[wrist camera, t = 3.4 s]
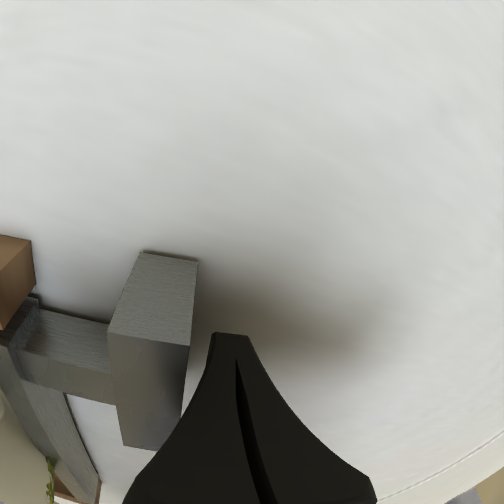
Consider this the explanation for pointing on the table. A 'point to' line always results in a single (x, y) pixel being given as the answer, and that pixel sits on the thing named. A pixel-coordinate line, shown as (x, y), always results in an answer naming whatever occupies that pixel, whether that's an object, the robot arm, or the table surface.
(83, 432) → the table surface
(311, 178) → the table surface
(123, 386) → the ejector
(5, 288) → the walnut holder
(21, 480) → the pitcher
